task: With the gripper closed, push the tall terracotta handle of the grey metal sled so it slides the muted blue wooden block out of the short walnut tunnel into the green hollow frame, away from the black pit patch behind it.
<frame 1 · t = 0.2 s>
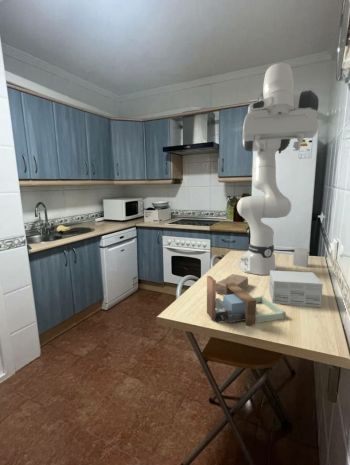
hand: (278, 149, 72), 54 cm above the table, tool tilted 30°, fingers open, 8 cm apart
sled: (228, 295, 88), point 7 cm above the table, slide at 0.0 cm
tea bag: (300, 265, 143), on the table
brick: (232, 289, 112), on the table
tunnel: (239, 313, 90), on the table
green hollow frame: (259, 310, 92), on the table
block: (237, 314, 90), on the table
supplement box: (292, 298, 102), on the table
pit: (216, 316, 88), on the table
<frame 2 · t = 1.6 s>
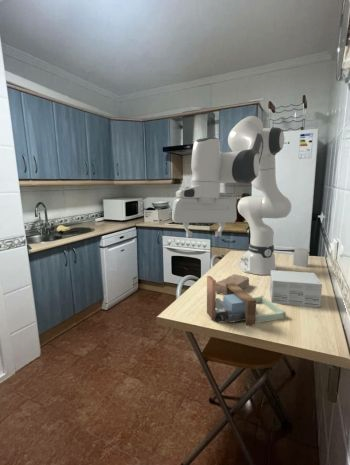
hand: (203, 237, 80), 29 cm above the table, tool pointing down, fingers open, 8 cm apart
nothing on the table moved.
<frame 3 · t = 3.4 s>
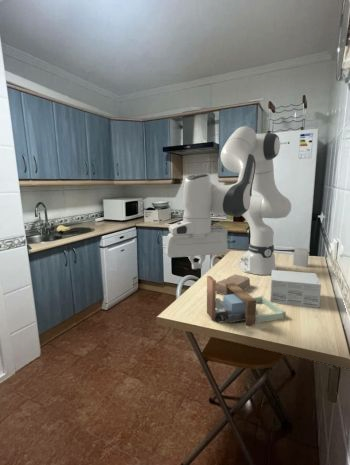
hand: (196, 268, 84), 18 cm above the table, tool pointing down, fingers closed
nothing on the table moved.
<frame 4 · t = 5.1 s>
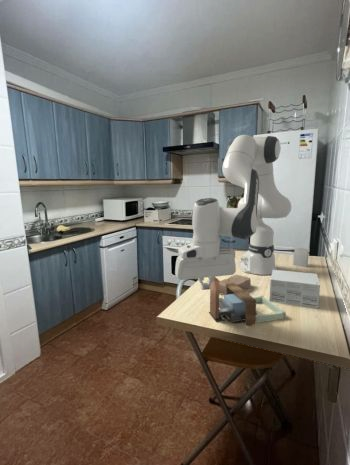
hand: (205, 289, 86), 10 cm above the table, tool pointing down, fingers closed
sled: (231, 294, 88), point 7 cm above the table, slide at 1.2 cm, touching block, gripper
block: (238, 313, 90), on the table, touching sled
everything else where it was.
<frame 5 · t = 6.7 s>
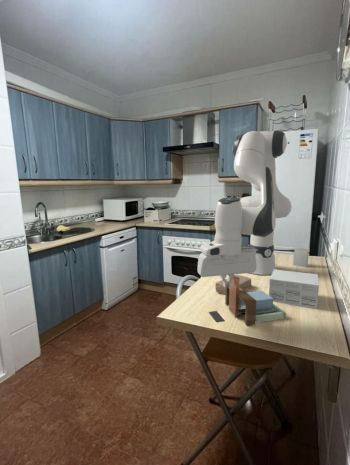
hand: (226, 286, 88), 10 cm above the table, tool pointing down, fingers closed
sled: (250, 292, 90), point 7 cm above the table, slide at 8.4 cm, touching gripper, tunnel
block: (256, 311, 92), on the table
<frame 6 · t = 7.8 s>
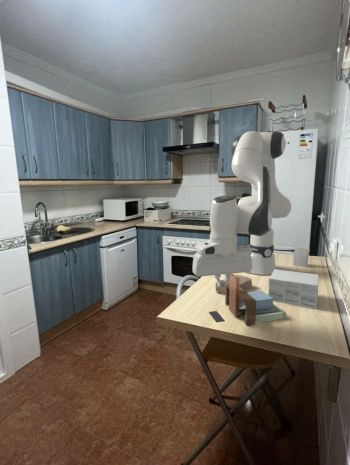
hand: (222, 286, 87), 11 cm above the table, tool pointing down, fingers closed
sled: (250, 292, 90), point 7 cm above the table, slide at 8.4 cm, touching tunnel
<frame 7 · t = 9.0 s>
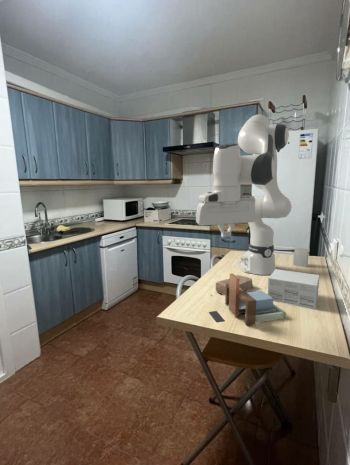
hand: (226, 236, 87), 27 cm above the table, tool pointing down, fingers closed
sled: (250, 292, 90), point 7 cm above the table, slide at 8.4 cm
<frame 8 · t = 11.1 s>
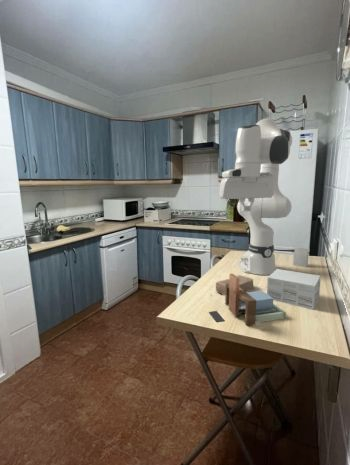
hand: (246, 210, 94), 35 cm above the table, tool pointing down, fingers closed
at the end: block inside the target area (0.2 cm from its centre), on the table; sled slide at 8.4 cm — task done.
